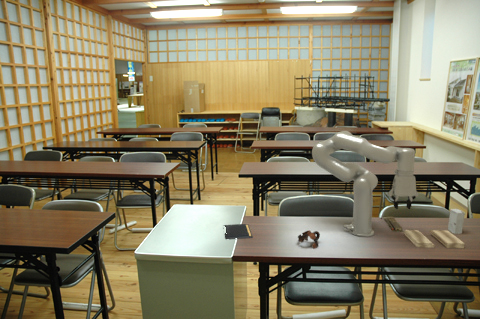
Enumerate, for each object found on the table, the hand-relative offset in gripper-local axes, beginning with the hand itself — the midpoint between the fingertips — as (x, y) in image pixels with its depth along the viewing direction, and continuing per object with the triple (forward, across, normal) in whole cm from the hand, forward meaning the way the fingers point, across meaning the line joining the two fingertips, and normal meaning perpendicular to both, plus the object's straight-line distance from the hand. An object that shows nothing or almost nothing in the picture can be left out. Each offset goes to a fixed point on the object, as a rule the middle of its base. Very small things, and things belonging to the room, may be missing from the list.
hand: (402, 207), depth 177 cm
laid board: (+17, +24, 0) cm, 29 cm away
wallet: (+18, -84, +10) cm, 87 cm away
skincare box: (+18, +34, +12) cm, 40 cm away
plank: (+17, +10, 0) cm, 20 cm away
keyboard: (+18, +4, +22) cm, 29 cm away
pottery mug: (+18, -46, -6) cm, 50 cm away
